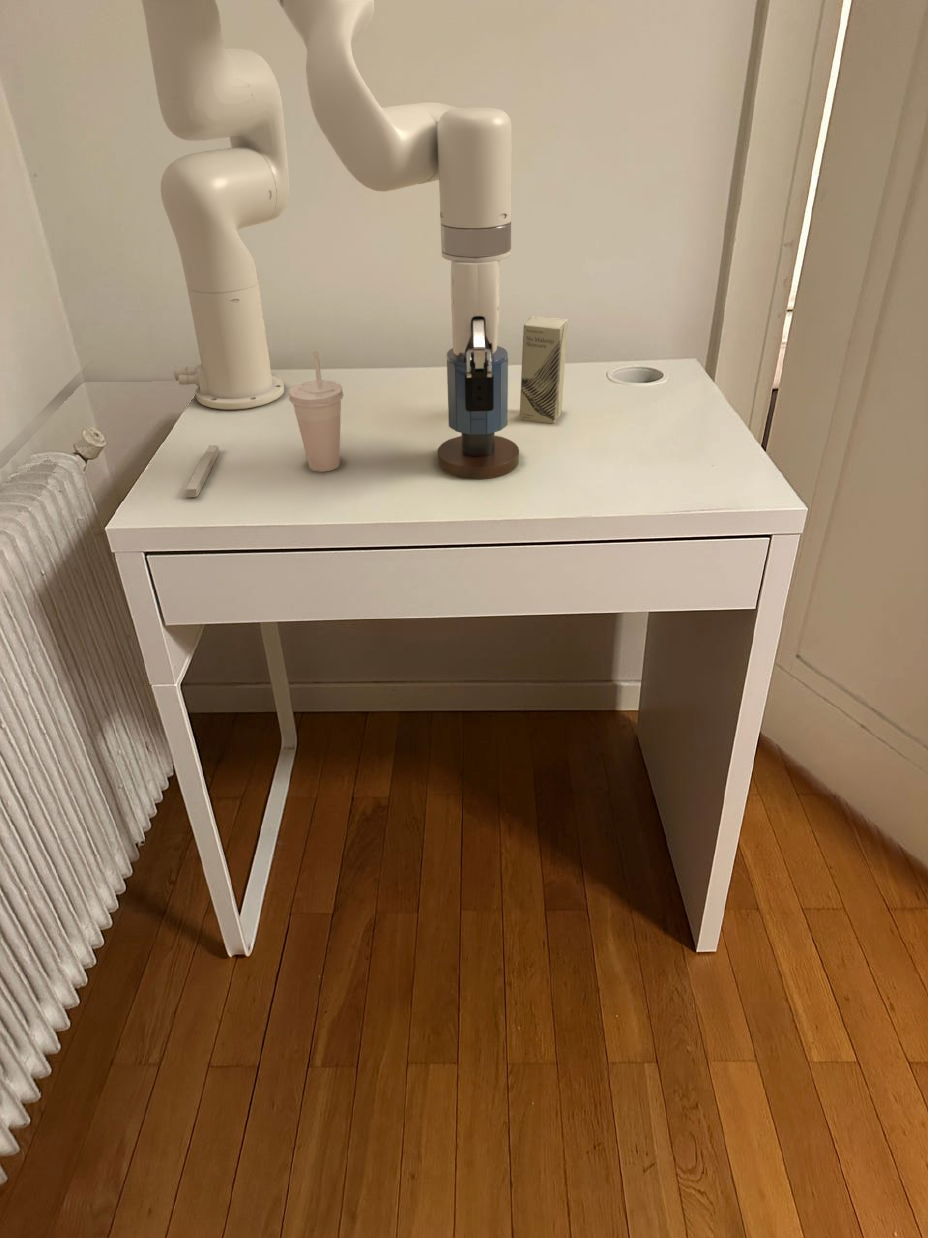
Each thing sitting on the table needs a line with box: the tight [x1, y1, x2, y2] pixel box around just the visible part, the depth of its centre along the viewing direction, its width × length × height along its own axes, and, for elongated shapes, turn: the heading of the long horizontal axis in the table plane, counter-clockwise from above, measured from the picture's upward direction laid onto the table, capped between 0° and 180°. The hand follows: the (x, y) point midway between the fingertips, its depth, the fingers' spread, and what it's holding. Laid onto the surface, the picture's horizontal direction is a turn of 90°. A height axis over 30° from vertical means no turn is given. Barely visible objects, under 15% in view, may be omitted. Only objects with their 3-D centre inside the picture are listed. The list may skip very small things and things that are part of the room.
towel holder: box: [437, 432, 520, 480], centre depth 107 cm, size 10×10×13 cm
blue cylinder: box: [446, 344, 509, 435], centre depth 106 cm, size 7×7×8 cm
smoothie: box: [288, 351, 345, 473], centre depth 107 cm, size 6×6×14 cm
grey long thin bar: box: [185, 444, 220, 498], centre depth 109 cm, size 12×1×1 cm, turn 1°
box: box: [519, 315, 569, 424], centre depth 119 cm, size 5×4×13 cm
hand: (478, 394), depth 106 cm, fingers open, 9 cm apart
